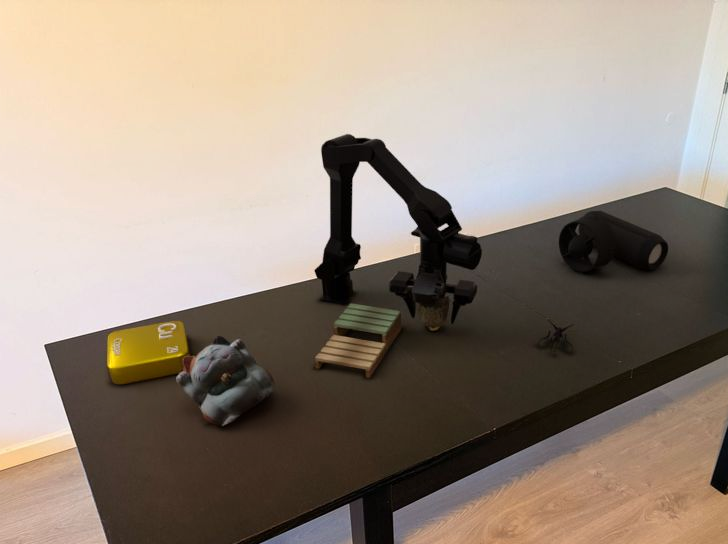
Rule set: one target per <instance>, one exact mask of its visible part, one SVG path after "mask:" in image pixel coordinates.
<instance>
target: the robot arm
mask: <svg viewBox="0 0 728 544" xmlns="http://www.w3.org/2000/svg"><path fill="white" fill-rule="evenodd" d="M320 153H321V160H322V167H323V169H324V171H325V172H326V174H327V176H328V178H329V238H328V240H327V242H326V244H325V246H324V249H323V254H322V262H321V263H320V264H319V265H318V266H317V267H316V268H315V269H314V274H315V276H316V279H318V280H321V287H322V296H320V301H322V302H328V303H333V304H334V303H335V304H341V305H345V304H346V303H347V302H348V301H349V300H350V298H351V297H352V296H353V295H354V294H355V290H354V287H353V286H354V284H353V283H354V282H353V279H351V273H350V272H353V271H354V270H355V269H356V268H355V267H356V265H358V264H359V261H360V260H361V259H362V256H361V249H362V246H361V244H360V243H357V242H356V241H355V239H354V238H353V236H352V235H353V185H354V184H353V182H354V181H353V180H354V176H355V175H356V173H357V170H358V169H359V166H360V163H367V164H368V165H369V166H370V167H371V168H372V169H373V170H374V171H375V172H376V173H377V174H378V175H379V176H380V177H381V179H383V180H384V181H385V183H387V185H388V186H389V187H390V188H391V189H392V190H393V191H394V192H395V193H396V194H397V195H398V196H399V198H401V199H402V200H403V202H404V203H405V204H406V207H407V210H408V214H409V216H410V217H411V219H412V221H414V223H415V224H416V228H415V229H413V230H412V231H411V232H410V235H411V236H413V237H417V238H419V265H418V272H417V274H416V277H415V275H414V273H413V272H410V271H409V272H408V271H401V270H397V272H396V273H395V274H394V275H393V276H392V277H391V278H390V280H389V284H388V287H389V288H388V289H389V292H390V293H392V294H395V296H397V297H399V298H401V299H402V300H403V301H404V303H405V305H406V307H407V309H408V311H409V314H410V316H411V318H412V319H415V317H416V314H417V313H416V310H417V307H416V306H417V303H426V304H429V305H432V304H434V303H435V302H436V300H439V299H444V297H445V296H446V294H452V295H453V300H452V302H451V304H452V308H451V309H452V310H451V316H450V324H451V325H454V323H455V320H456V319H457V316H458V313H459V312H460V308H461V307H465V306H467V305H469V304H472V303H473V302H474V300H475V297H476V295H477V293H478V284H477V283H476V282H475V281H472V280H465V279H459V280H458V282H457V284H452V283H447V280H448V274H447V272H448V271H447V270H448V268H447V265H448V264H449V265H452V266H455V267H456V266H457V267H460V268H463V269H467V270H470V271H473V270H475V269H476V268H477V267H478V266H479V264H480V262H481V259H482V254H483V253H482V252H483V248H482V247H481V244H480V242H478V237H477V236H475V235H467V234H464V233H460V232H461V231H462V230H463V228H462V225H461V224H460V223H459V221H458V219H457V217H456V215H455V214H454V212H453V210H452V209H453V207H452V204H451V203H450V202H449V200H447V198H445V197H444V196H443V195H441V194H440V193H439V192H437V191H435V190H433V189H431V188H428V187H426V186H425V185H423V184H422V183H421V182H420V181H419V180H418V179H417V178H416V177H415V176H414V175H413V174H412V173H411V171H409V169H407V167H406V166H405V165H404V164H403V163H401V161H400V160H399V159H398V158H397V157H396V156H395V155H394V154H393V153H392V151H390V150H389V149H388V147H386V143H385V141H383V140H382V139H380V138H368V137H355V136H354V135H353V134H350V133H346V134H343V135H340V136H336V137H333V138H332V139H329V140H326V141H325V142H323V144H322V145H321V147H320ZM445 225H447V226H446V227H444V228H443V229H441V230H440V228H441V227H443V226H445Z"/></svg>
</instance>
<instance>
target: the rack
mask: <svg viewBox="0 0 728 544" xmlns="http://www.w3.org/2000/svg"><path fill="white" fill-rule="evenodd" d="M346 307H347V308H345V309H344V311H342V313H341V314H340V315H339V316H338V319H336V320H335V321H334V323H333V335H331V337H330V338H329V340H328V341H327V342H325V345H324V346H323V347H322V348H321V350H320V352H318V354H316V356H315V358H314V359H315V361H314V367H315V369H318V370H319V369H320V368H321V367H322V366H323V364H324V363H327V364H333V365H339V366H343V367H344V366H345V367H349V368H356V369H362V370H365V378H368V379H370V378H371V377H372V375H373V374H374V372H375V371H376V369H377V367H378V366H379V365H380V363H381V361H382V360H383V358H384V357H385V355H386V354H387V352H388V350H389V348H390V347H391V346H392V344H393V343H394V341H395V340H396V339H397V336H398V335H399V334H400V332H401V330H402V313H401V310H397V309H395V310H394V309H391V308H390V309H389V308H382V307H378V306H377V307H376V306H371V305H363V304H357V303H349V304H348V306H346ZM350 330H354V331H360V332H367V333H373V334H379V335H381V337H382V342H379V341H373V340H366V339H361V338H356V337H355V338H354V337H348V336H346V335H347V333H348V332H349V331H350Z"/></svg>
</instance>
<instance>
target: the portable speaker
mask: <svg viewBox="0 0 728 544" xmlns="http://www.w3.org/2000/svg"><path fill="white" fill-rule="evenodd" d="M590 214H592V215H597V216H599V217H601V218H603V219H604V220H605V221H606V222H607V223H608V224H609V225H610V227H611V228H612V230H613V232H614V235H615V240H616V250H615V253H614V256H613V257H616V258H618V259H619V260H622V261H624V262H626V263H628V264H630V265H632V266H634V267H637V268H638V269H641V270H646V271H647V270H651V271H652V270H653V271H655V270H656V269H659V268H660V267H661V265H663V263H664V261H665V260H666V259H667V256H668V252H669V243H668V242H667V240H665V239H664V238H663V237H662V235H660V234H658V233H656V232H653V231H651V230H648V229H646V228H644V227H641V226H639V225H637V224H634V223H632V222H629V221H627V220H625V219H622V218H620V217H617V216H616V215H612V214H611V213H607V212H605V211H602V210H590V211H588V212H586V213H585V214H584V215H583V216H585V215H590ZM580 234H586V235H587V236H589V237H590V238H591V237H593V236H594V235H593V233H592V232H591V231H590V230H589V229H588V228H587V227H585V226H584V225H581V224H579V225H578V235H580ZM592 243H593V248H597V249H598V246H597V242H596V239H593V240H592Z"/></svg>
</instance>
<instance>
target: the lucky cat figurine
mask: <svg viewBox="0 0 728 544" xmlns="http://www.w3.org/2000/svg"><path fill="white" fill-rule="evenodd" d="M175 380H176V383H177V384H178V386H180V387H181V388H182V389H183V391H184V392H185V393H186V395H188V396H189V397H190V399H191V400H192V401H193V402H194V403H195V404H196V405H197V407H198V408H199V409H200V411H201V413H202V416H203V418H204V419H205V420H206V422H207V423H209V424H211V425H217V426H220V427H224V426H226V425H228V424H230V423H232V422H234V421H235V420H236V419H237V418H239V417H240V416H241V415H242V414H244V413H245V412H246V411H248V410H249V409H251V408H253V407H254V406H256V405H257V404H259V403H260V402H262V401H263V400H265V398H266V397H268V396H269V395H270V394H271V393H272V392H273V391H274V389H275V381H274V378H273V376H272V374H271V373H270V372H269V370H268V369H266V368H264V367H262V366H260V365H258V362H257V361H256V359H255V357H254V356H253V355H252V353H251V352H250V351H249V349H248V348H247V346H246V344H245V342H244V341H243V339H235V340H234V341H233V342H232V343H231V342H230V341H229V340H228V339H226V338H225V337H224V336H221V335H217V336H215V338H214V340H212V342H211V344H210V345H207V346H205V347H204V348H203V349H202V350H200V351H199V352H198V353H197V354H196V355H190V356H186V357H183V365H182V370H181V371H180V373H178V375H177V376H176V378H175Z"/></svg>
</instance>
